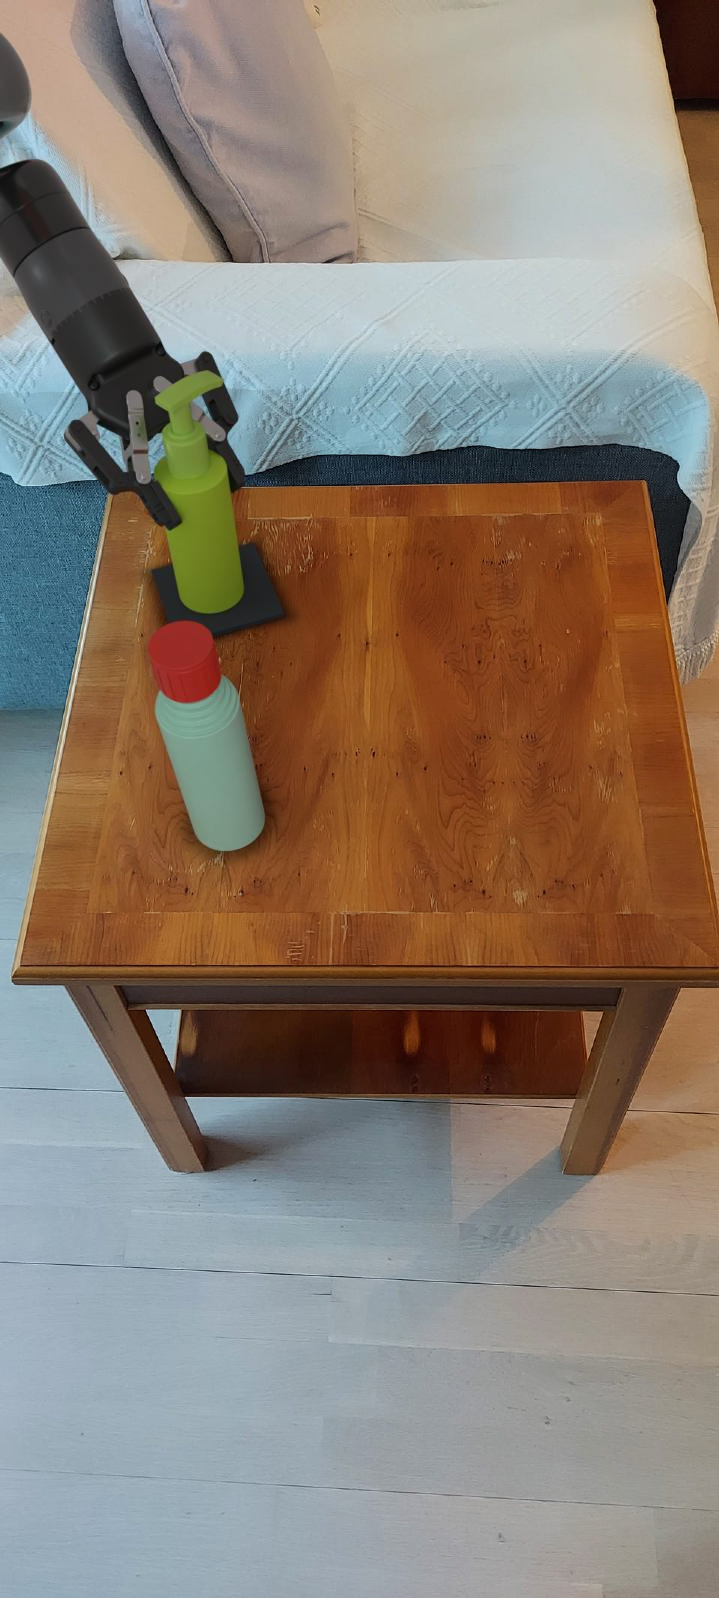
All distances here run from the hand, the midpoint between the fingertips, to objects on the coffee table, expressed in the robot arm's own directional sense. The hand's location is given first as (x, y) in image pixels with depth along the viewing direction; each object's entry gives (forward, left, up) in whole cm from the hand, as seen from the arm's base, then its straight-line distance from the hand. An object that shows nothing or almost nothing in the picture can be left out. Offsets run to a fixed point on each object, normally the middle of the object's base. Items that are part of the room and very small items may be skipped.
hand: (207, 507), depth 82 cm
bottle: (-6, -23, -11) cm, 26 cm away
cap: (-6, -23, +5) cm, 24 cm away
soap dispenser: (0, +2, -10) cm, 11 cm away
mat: (-1, +1, -11) cm, 11 cm away
